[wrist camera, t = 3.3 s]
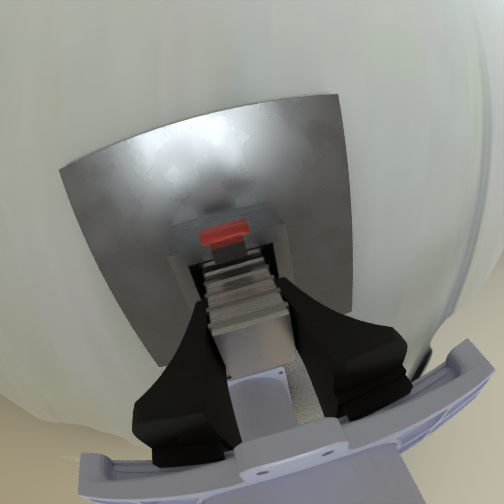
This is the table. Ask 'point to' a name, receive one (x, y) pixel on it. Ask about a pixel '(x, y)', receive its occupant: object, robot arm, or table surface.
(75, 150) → the table surface
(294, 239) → the stand base
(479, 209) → the table surface
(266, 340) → the lift column
